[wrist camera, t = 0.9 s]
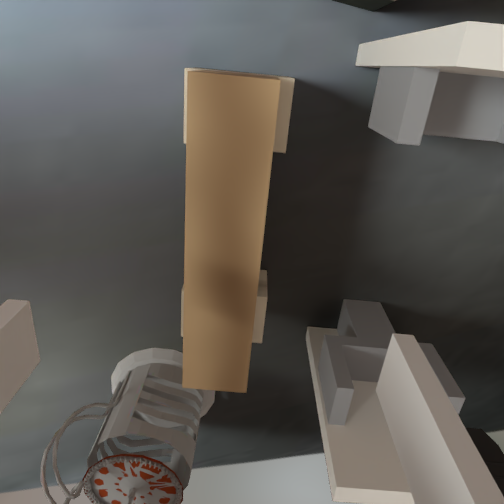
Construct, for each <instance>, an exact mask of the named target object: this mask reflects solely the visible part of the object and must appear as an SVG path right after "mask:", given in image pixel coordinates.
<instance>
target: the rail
mask: <svg viewBox="0 0 504 504" xmlns="http://www.w3.org/2000/svg"><path fill="white" fill-rule="evenodd" d="M280 84H281V80H280V79H279V78H277V77H271V76H261V75H251V74H240V73H230V72H220V71H210V70H195V71H188V76H187V136H186V195H185V255H184V314H183V374H182V388H191V389H203V390H216V391H228V392H240V393H246V390H247V381H248V372H249V363H250V354H251V345H252V336H253V327H254V318H255V309H256V300H257V291H258V282H259V273H260V264H261V255H262V246H263V237H264V228H265V219H266V210H267V201H268V192H269V183H270V174H271V165H272V156H273V147H274V138H275V129H276V120H277V111H278V102H279V93H280Z"/></svg>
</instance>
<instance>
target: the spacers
mask: <svg viewBox="0 0 504 504" xmlns="http://www.w3.org/2000/svg"><path fill="white" fill-rule="evenodd" d="M195 70H210V71H220V72H230V73H240V74H251V75H261V76H271V77H277V78H279V79H280V80H281V84H280V93H279V102H278V111H277V120H276V129H275V138H274V147H273V152H281V153H286V146H287V138H288V130H289V122H290V114H291V106H292V98H293V90H294V82H295V79H294V78H291V77H286V76H276V75H265V74H255V73H245V72H235V71H225V70H215V69H205V68H185V76H184V143H186V136H187V76H188V71H195ZM267 298H268V295H267V270H260V273H259V282H258V291H257V300H256V309H255V318H254V327H253V336H252V342H253V343H262V338H263V330H264V322H265V314H266V306H267ZM183 314H184V284H183V287H182V294H181V336H182V337H183Z"/></svg>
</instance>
